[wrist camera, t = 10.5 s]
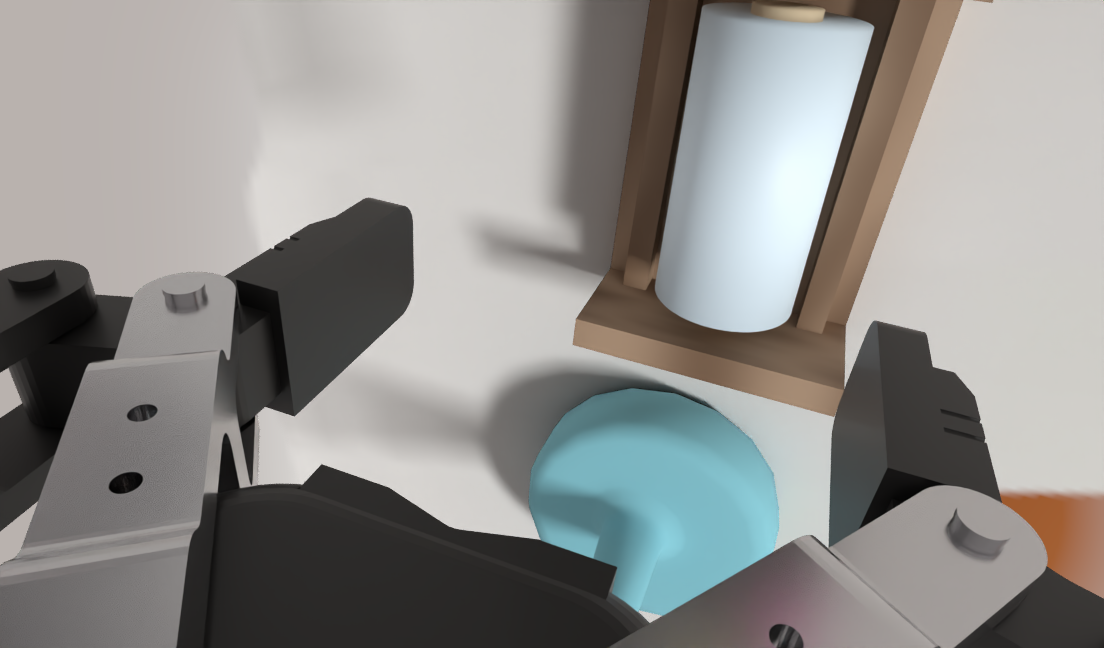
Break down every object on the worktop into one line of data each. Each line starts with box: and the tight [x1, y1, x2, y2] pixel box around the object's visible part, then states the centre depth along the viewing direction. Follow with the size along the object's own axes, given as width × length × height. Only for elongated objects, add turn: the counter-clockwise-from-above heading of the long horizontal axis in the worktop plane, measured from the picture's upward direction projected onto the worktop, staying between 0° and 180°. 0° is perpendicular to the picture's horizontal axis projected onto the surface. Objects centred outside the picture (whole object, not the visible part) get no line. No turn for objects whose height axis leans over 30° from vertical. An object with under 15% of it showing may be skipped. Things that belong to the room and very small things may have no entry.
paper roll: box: [655, 0, 874, 332], centre depth 25 cm, size 11×5×5 cm, turn 175°
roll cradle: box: [573, 0, 993, 417], centre depth 25 cm, size 10×15×6 cm, turn 175°
